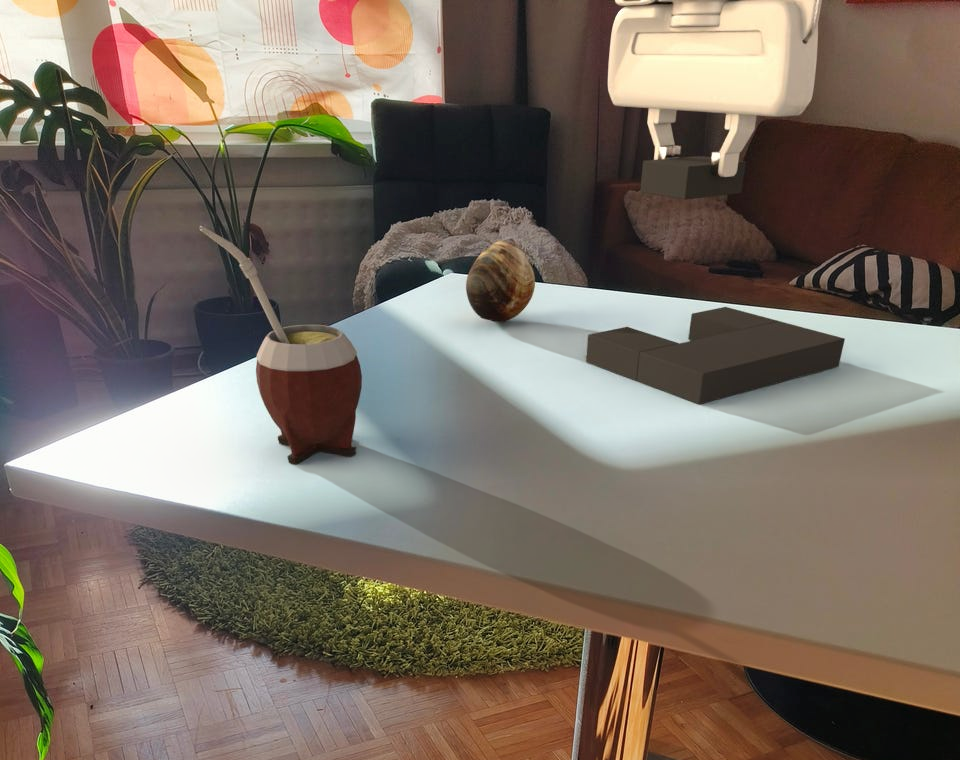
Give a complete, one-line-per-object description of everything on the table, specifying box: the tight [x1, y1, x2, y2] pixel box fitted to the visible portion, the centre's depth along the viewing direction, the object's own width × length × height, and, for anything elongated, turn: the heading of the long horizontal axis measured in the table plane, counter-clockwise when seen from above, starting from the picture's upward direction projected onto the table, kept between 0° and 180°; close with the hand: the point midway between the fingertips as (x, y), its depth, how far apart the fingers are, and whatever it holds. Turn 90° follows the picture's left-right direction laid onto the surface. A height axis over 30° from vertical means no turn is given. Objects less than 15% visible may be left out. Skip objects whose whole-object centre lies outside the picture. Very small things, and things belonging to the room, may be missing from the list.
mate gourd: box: [199, 225, 363, 465], centre depth 59 cm, size 8×8×15 cm
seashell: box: [465, 236, 536, 323], centre depth 91 cm, size 10×6×8 cm, turn 143°
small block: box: [640, 155, 747, 200], centre depth 78 cm, size 7×6×2 cm
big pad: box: [585, 306, 846, 405], centre depth 80 cm, size 18×14×2 cm
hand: (693, 172), depth 78 cm, fingers closed on small block, 5 cm apart
